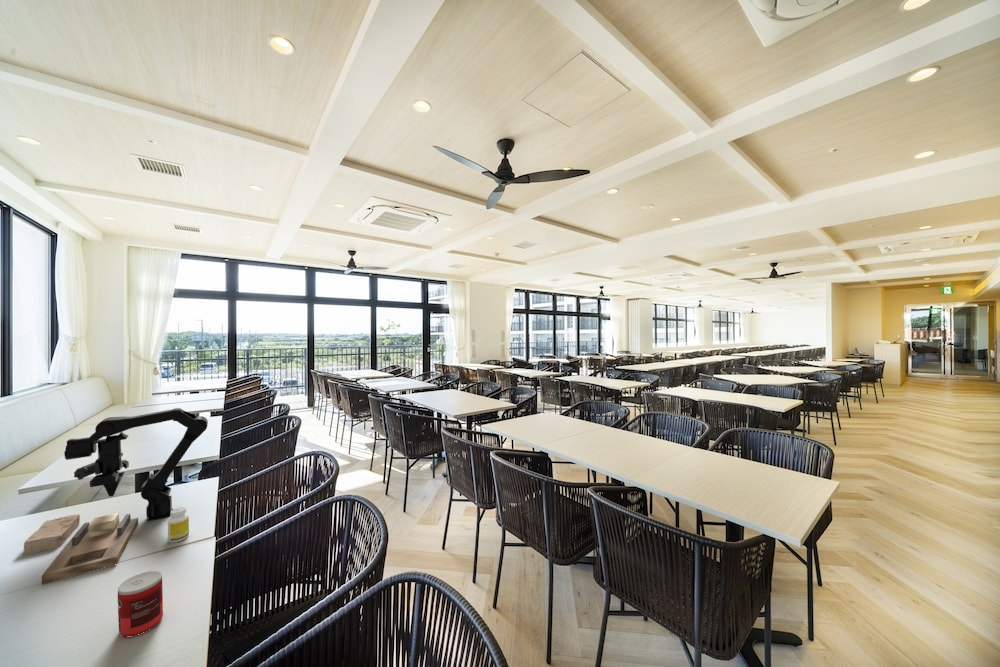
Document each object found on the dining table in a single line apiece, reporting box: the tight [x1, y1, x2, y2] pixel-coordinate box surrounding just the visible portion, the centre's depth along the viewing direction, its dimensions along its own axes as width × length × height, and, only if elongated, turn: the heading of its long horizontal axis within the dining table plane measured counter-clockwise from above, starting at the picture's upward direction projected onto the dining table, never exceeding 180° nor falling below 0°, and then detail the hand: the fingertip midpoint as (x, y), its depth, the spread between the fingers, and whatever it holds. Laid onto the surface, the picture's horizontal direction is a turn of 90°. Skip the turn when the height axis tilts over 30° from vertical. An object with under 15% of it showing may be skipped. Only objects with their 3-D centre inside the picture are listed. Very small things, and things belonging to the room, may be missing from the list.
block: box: [88, 512, 120, 537], centre depth 127 cm, size 6×6×4 cm
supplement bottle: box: [167, 507, 190, 543], centre depth 127 cm, size 5×5×10 cm
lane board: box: [41, 513, 139, 585], centre depth 120 cm, size 15×28×5 cm, turn 34°
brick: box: [23, 513, 81, 556], centre depth 126 cm, size 17×8×5 cm, turn 33°
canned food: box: [117, 570, 164, 638], centre depth 90 cm, size 8×8×11 cm
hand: (111, 496), depth 134 cm, fingers closed
